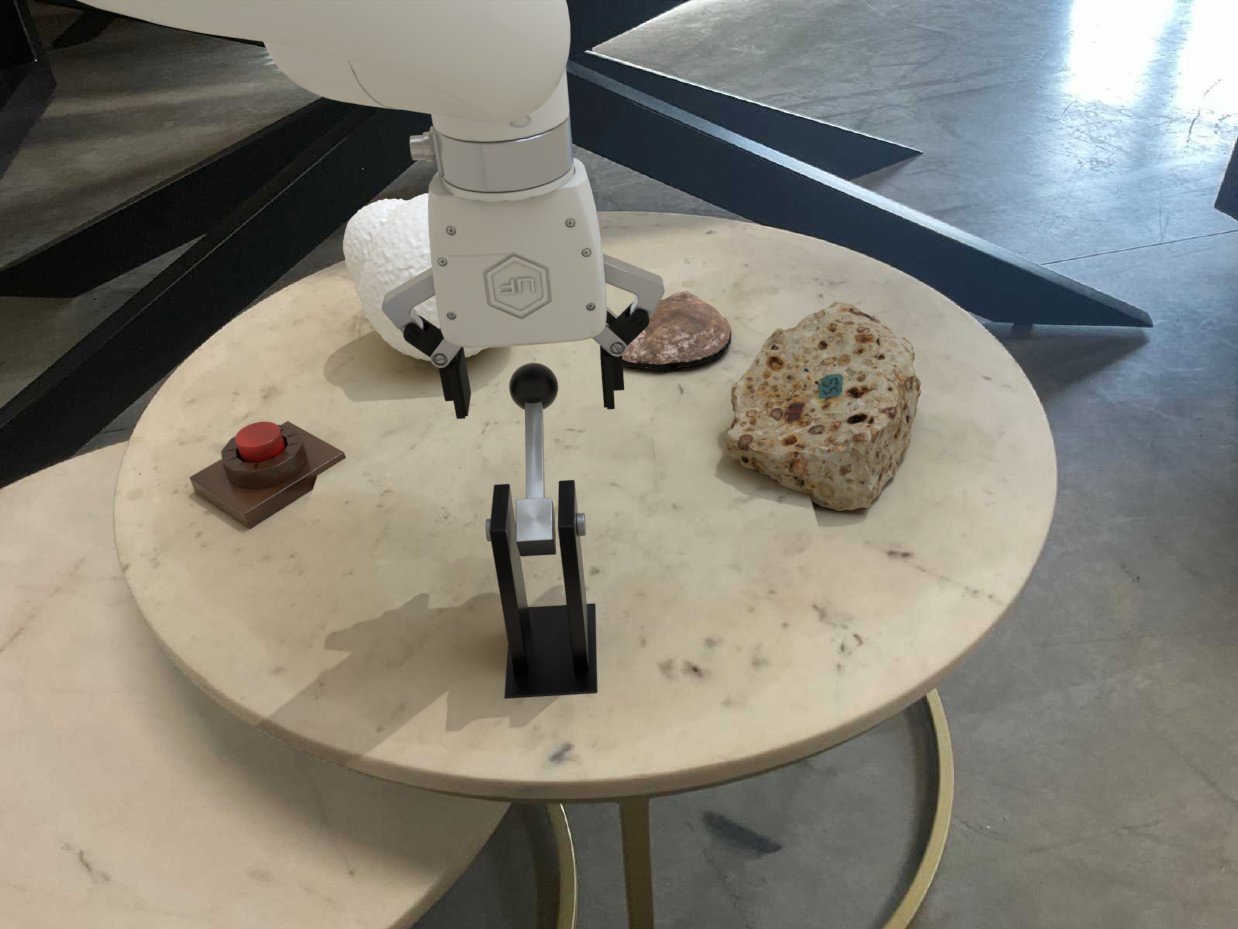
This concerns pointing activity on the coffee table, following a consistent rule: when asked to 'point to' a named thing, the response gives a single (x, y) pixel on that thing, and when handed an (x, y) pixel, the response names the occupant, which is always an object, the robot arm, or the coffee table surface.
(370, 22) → the robot arm
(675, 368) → the shell
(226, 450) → the control block
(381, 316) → the decorative orb
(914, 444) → the coffee table surface
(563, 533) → the bracket
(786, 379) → the rock
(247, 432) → the button
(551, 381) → the lever
